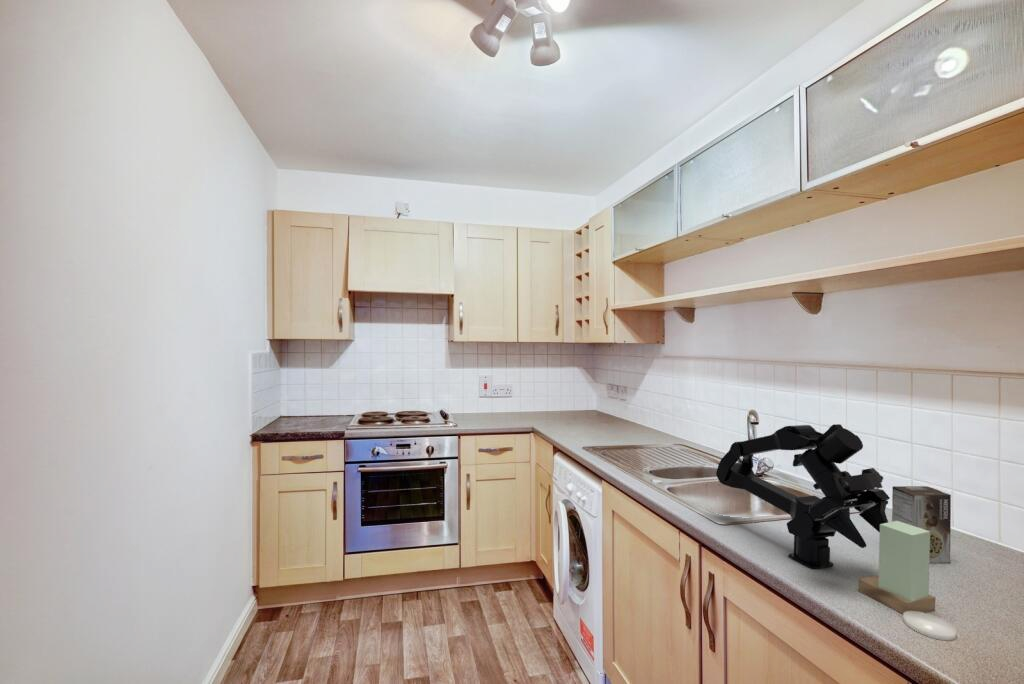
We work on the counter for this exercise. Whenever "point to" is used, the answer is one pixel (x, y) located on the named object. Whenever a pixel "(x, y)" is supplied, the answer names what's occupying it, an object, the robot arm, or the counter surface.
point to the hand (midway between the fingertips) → (879, 543)
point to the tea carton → (904, 560)
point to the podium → (894, 597)
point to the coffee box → (926, 516)
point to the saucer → (929, 625)
